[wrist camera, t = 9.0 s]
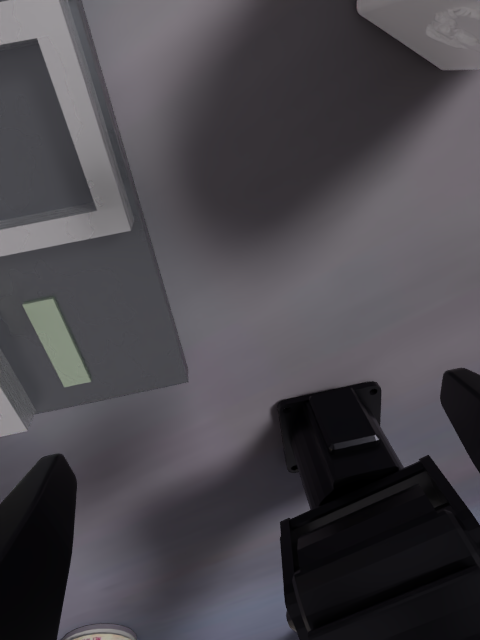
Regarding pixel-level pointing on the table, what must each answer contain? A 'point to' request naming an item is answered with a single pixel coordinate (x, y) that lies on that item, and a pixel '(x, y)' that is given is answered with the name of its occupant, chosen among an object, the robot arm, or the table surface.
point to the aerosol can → (101, 633)
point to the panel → (70, 230)
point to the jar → (431, 28)
